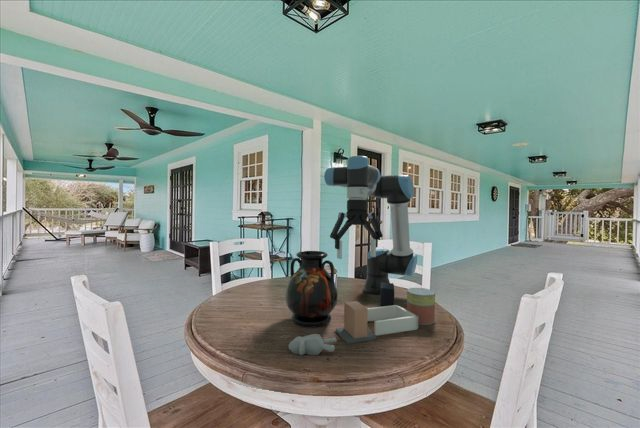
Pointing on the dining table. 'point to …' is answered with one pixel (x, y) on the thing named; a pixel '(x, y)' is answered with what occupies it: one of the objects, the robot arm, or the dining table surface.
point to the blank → (355, 319)
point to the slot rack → (400, 320)
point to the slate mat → (350, 339)
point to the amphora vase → (311, 290)
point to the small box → (387, 294)
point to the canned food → (422, 304)
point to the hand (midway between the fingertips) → (356, 257)
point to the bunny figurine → (311, 344)
